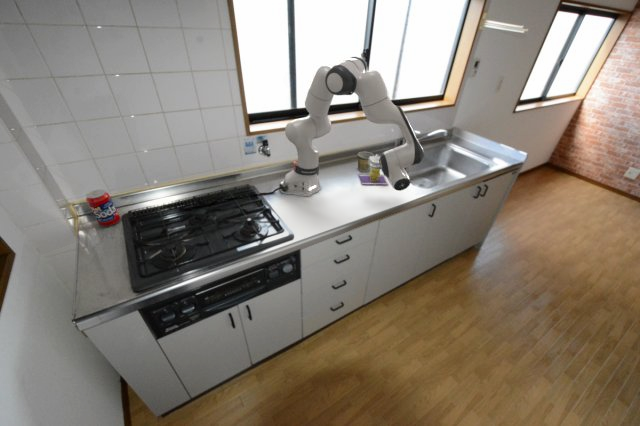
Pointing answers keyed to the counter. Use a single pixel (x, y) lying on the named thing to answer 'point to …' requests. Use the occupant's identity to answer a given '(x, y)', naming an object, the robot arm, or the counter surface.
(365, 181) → the towel
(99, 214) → the soda can
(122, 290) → the counter surface
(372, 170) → the green grape bunch
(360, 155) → the ceramic cup
